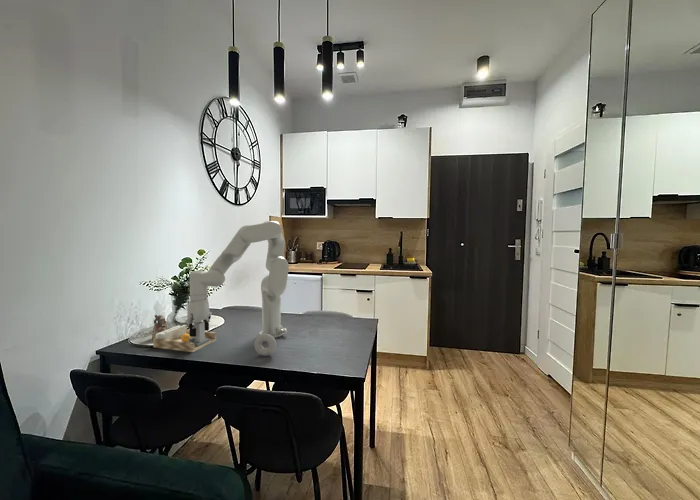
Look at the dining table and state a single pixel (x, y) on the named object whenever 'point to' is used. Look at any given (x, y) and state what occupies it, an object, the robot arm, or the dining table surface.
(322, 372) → the dining table surface
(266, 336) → the donut
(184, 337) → the ball
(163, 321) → the figurine
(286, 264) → the robot arm
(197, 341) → the striker
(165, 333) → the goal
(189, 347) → the wooden tray
